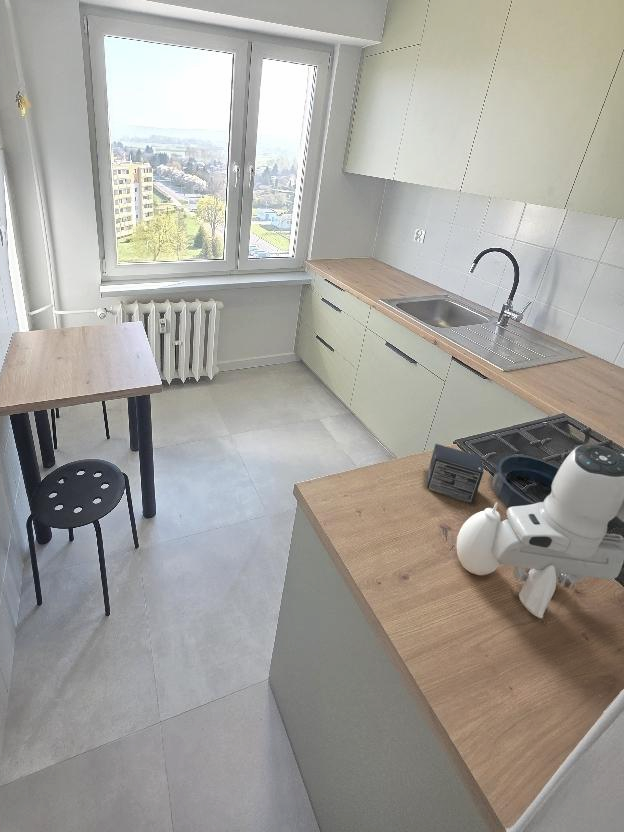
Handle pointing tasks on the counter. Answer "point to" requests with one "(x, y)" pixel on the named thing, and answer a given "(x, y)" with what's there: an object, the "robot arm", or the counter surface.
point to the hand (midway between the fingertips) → (541, 580)
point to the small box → (455, 473)
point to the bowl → (521, 468)
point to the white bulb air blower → (479, 542)
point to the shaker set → (539, 590)
